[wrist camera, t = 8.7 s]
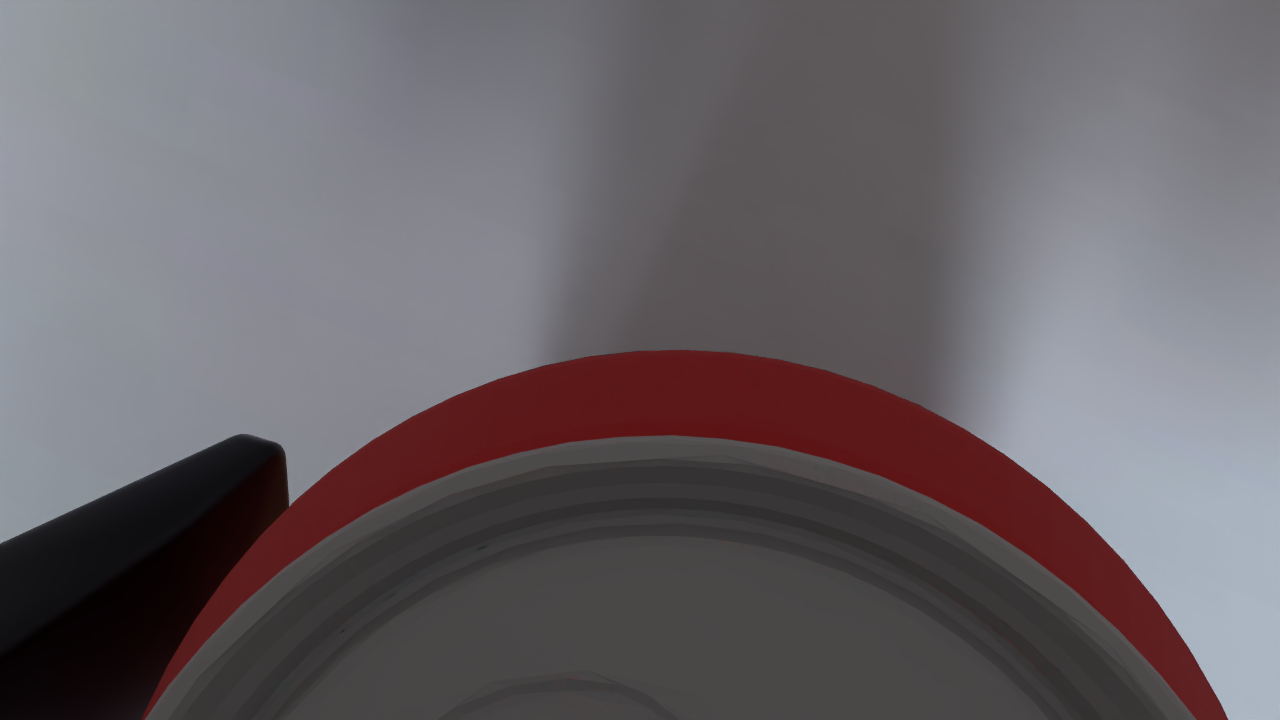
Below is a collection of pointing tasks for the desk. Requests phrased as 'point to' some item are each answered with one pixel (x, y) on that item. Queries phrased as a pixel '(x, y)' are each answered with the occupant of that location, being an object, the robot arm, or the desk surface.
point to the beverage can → (681, 567)
